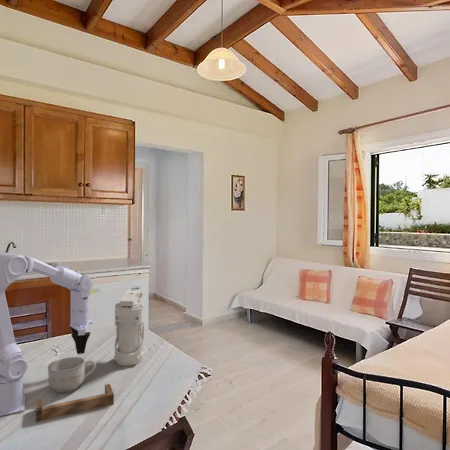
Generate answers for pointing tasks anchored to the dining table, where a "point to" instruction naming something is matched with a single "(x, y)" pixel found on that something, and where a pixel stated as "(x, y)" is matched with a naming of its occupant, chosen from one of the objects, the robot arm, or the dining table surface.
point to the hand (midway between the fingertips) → (79, 349)
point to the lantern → (129, 329)
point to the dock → (74, 405)
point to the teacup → (68, 373)
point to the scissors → (59, 353)
